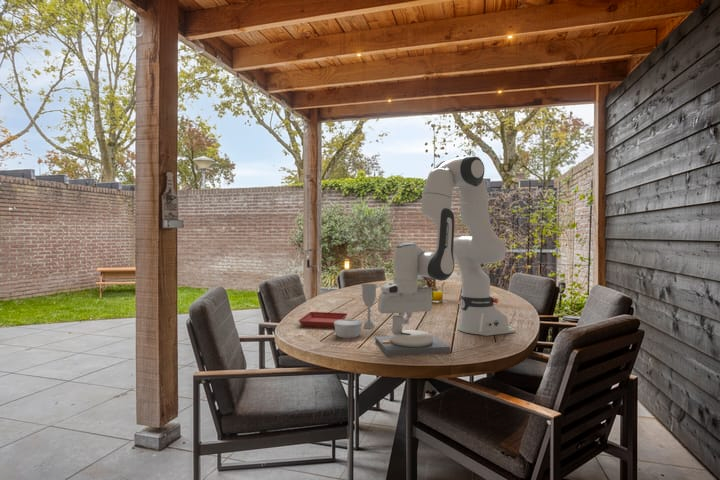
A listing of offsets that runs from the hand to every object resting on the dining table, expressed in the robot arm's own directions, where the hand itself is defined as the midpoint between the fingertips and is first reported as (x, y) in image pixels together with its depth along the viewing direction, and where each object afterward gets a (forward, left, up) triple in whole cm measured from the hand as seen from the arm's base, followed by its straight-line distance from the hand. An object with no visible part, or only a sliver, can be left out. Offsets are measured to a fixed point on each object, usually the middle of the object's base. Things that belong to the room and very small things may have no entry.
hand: (405, 324), depth 151 cm
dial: (-1, +6, -5) cm, 7 cm away
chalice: (+7, -27, -7) cm, 28 cm away
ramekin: (+18, -16, -7) cm, 25 cm away
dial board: (-1, +5, -7) cm, 9 cm away
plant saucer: (+25, -38, -8) cm, 46 cm away
